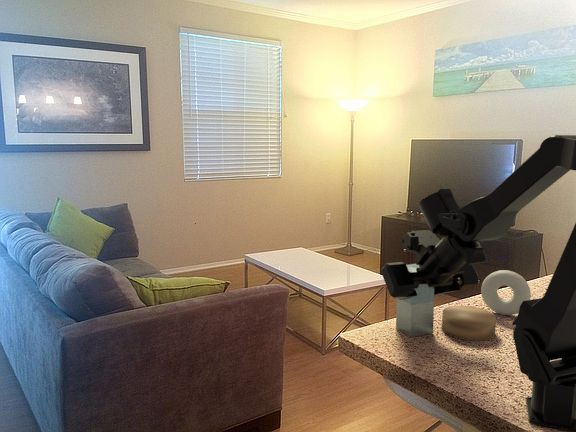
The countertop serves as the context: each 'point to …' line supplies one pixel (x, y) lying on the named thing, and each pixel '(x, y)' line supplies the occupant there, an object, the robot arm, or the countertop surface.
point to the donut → (508, 279)
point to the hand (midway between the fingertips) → (411, 296)
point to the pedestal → (468, 323)
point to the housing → (416, 310)
